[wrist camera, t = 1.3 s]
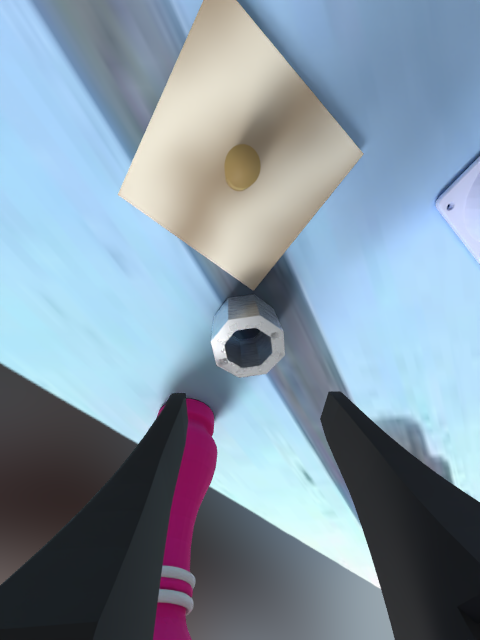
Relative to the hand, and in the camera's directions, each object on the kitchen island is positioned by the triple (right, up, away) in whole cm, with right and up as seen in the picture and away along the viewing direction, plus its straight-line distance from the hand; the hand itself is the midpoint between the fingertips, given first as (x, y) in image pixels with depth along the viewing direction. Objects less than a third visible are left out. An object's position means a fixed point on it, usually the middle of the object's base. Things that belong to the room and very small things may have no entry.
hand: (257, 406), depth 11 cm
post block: (-1, +14, +3) cm, 14 cm away
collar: (0, +4, +8) cm, 9 cm away
